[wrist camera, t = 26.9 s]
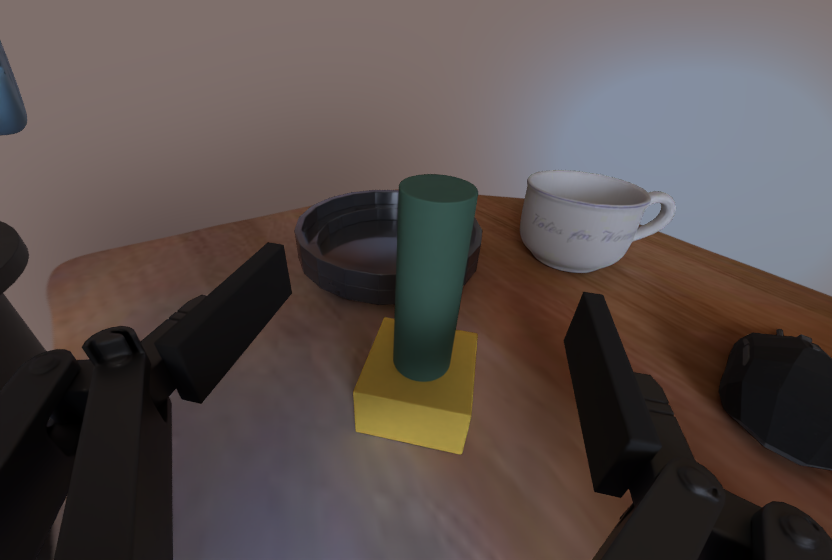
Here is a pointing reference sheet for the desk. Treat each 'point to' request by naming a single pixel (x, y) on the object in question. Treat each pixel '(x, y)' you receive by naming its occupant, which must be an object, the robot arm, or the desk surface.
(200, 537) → the desk surface
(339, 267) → the bowl
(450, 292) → the green peg on stand
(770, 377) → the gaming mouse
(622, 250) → the teacup
